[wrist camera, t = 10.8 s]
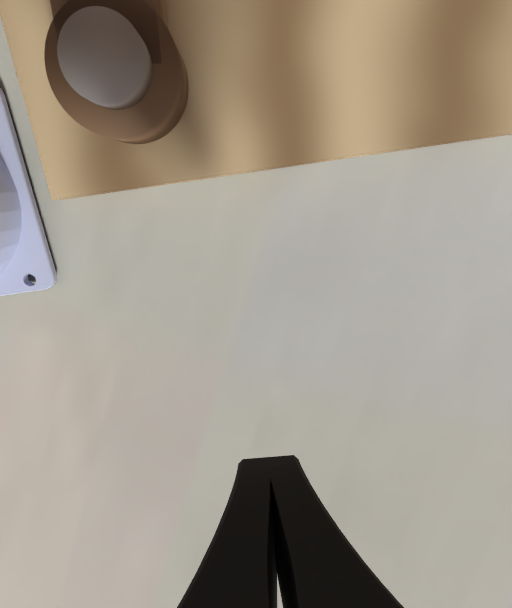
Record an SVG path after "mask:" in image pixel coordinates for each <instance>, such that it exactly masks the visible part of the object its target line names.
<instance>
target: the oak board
mask: <svg viewBox="0 0 512 608" xmlns="http://www.w3.org/2000/svg"><path fill="white" fill-rule="evenodd" d="M165 2H166V11H167V20H168V29H169V32H170V34H171V36H172V38H173V40H174V42H175V44H176V46H177V48H178V50H179V53H180V55H181V57H182V59H183V62H184V64H185V67H186V71H187V76H188V87H189V90H188V99H187V104H186V107H185V110H184V113H183V115H182V117H181V119H180V120H179V122H178V123H177V125H176V126H175V127H174V128H173V129H172V130H171V131H170V132H169V133H168V134H167V135H165V136H164V137H162V138H160V139H158V140H156V141H154V142H150V143H146V144H128V143H124V142H120V141H117V140H114V139H111V138H108V137H105V136H102V135H99V134H97V133H94V132H92V131H90V130H88V129H86V128H85V127H83V126H81V125H80V124H79V123H77V122H76V121H75V120H74V119H73V118H71V117H70V116H69V115H68V114H67V112H66V111H65V110H64V109H63V108H62V106H61V105H60V103H59V102H58V100H57V99H56V97H55V95H54V93H53V91H52V89H51V86H50V84H49V81H48V77H47V73H46V68H45V61H44V50H45V41H46V37H47V32H48V30H49V27H50V24H51V22H52V20H53V14H52V9H51V3H50V0H0V16H1V19H2V23H3V26H4V30H5V34H6V37H7V41H8V44H9V48H10V51H11V55H12V59H13V62H14V66H15V69H16V73H17V77H18V80H19V84H20V87H21V91H22V95H23V98H24V102H25V105H26V109H27V112H28V116H29V120H30V123H31V127H32V130H33V134H34V138H35V141H36V145H37V148H38V152H39V156H40V159H41V163H42V166H43V170H44V174H45V177H46V181H47V184H48V188H49V191H50V195H51V199H52V200H61V199H69V198H75V197H82V196H89V195H96V194H103V193H110V192H117V191H124V190H131V189H137V188H144V187H151V186H158V185H165V184H172V183H179V182H186V181H192V180H199V179H206V178H213V177H220V176H227V175H234V174H241V173H248V172H254V171H261V170H268V169H275V168H282V167H289V166H296V165H303V164H310V163H316V162H323V161H330V160H337V159H344V158H351V157H358V156H365V155H372V154H378V153H385V152H392V151H399V150H406V149H413V148H420V147H427V146H434V145H440V144H447V143H454V142H461V141H468V140H475V139H482V138H489V137H496V136H502V135H509V134H512V0H165Z"/></svg>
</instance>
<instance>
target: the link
mask: <svg viewBox="0 0 512 608" xmlns="http://www.w3.org/2000/svg"><path fill="white" fill-rule="evenodd" d="M50 3H51V9H52V14H53V20H52V22H51V24H50V27H49V30H48V32H47V37H46V41H45V50H44V61H45V68H46V73H47V77H48V81H49V84H50V86H51V89H52V91H53V93H54V95H55V97H56V99H57V100H58V102H59V103H60V105H61V106H62V108H63V109H64V110H65V111H66V112H67V114H68V115H69V116H70V117H71V118H73V119H74V120H75V121H76V122H77V123H79V124H80V125H81V126H83V127H85V128H86V129H88V130H90V131H92V132H94V133H97V134H99V135H102V136H105V137H108V138H111V139H114V140H117V141H120V142H124V143H128V144H146V143H150V142H154V141H156V140H158V139H160V138H162V137H164V136H165V135H167V134H168V133H169V132H170V131H171V130H172V129H173V128H174V127H175V126H176V125H177V123H178V122H179V120H180V119H181V117H182V115H183V113H184V110H185V107H186V104H187V99H188V90H189V87H188V76H187V71H186V67H185V64H184V62H183V59H182V57H181V55H180V53H179V50H178V48H177V46H176V44H175V42H174V40H173V38H172V36H171V34H170V32H169V29H168V20H167V11H166V2H165V0H50Z"/></svg>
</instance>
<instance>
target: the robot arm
mask: <svg viewBox="0 0 512 608" xmlns="http://www.w3.org/2000/svg"><path fill="white" fill-rule="evenodd" d="M29 274H32V275H33V276H34V277H35V278H36V283H35V284H33V283H31V282H30V281H29V279H28V275H29ZM56 281H57V274H56V270H55V267H54V263H53V260H52V257H51V253H50V250H49V246H48V243H47V239H46V236H45V232H44V229H43V226H42V222H41V219H40V215H39V212H38V208H37V205H36V201H35V198H34V195H33V191H32V188H31V184H30V181H29V177H28V174H27V171H26V167H25V164H24V160H23V157H22V153H21V150H20V146H19V143H18V140H17V136H16V133H15V129H14V126H13V122H12V119H11V115H10V112H9V109H8V105H7V102H6V98H5V95H4V93H3V91H2V89H1V88H0V296H3V295H10V294H17V293H24V292H31V291H38V290H45V289H48V288H50V287H52V286H53V285H54V284H55V283H56ZM277 575H278V580H279V586H280V592H281V598H282V603H283V608H404V607H403V606H402V605H401V604H400V603H399V602H398V601H397V600H396V598H395V597H394V596H393V595H392V594H391V593H390V592H389V591H388V589H387V588H386V587H385V586H384V585H383V584H382V583H381V581H380V580H379V579H378V578H377V577H376V575H375V574H374V573H373V572H372V571H371V569H370V568H369V567H368V566H367V565H366V563H365V562H364V561H363V560H362V558H361V557H360V556H359V554H358V553H357V552H356V550H355V549H354V548H353V547H352V545H351V544H350V543H349V541H348V540H347V539H346V537H345V536H344V535H343V533H342V532H341V530H340V529H339V528H338V526H337V525H336V523H335V522H334V520H333V519H332V517H331V516H330V514H329V513H328V511H327V510H326V508H325V507H324V505H323V504H322V502H321V501H320V499H319V498H318V496H317V494H316V493H315V491H314V489H313V487H312V486H311V484H310V482H309V480H308V479H307V477H306V475H305V473H304V471H303V469H302V467H301V465H300V462H299V460H298V459H297V458H296V457H295V456H294V455H291V456H278V457H266V458H253V459H243V460H242V461H241V462H240V463H239V464H238V470H237V474H236V478H235V482H234V485H233V488H232V492H231V494H230V497H229V500H228V503H227V506H226V508H225V511H224V513H223V516H222V518H221V520H220V523H219V525H218V528H217V530H216V533H215V535H214V537H213V539H212V541H211V543H210V546H209V548H208V550H207V552H206V554H205V556H204V558H203V560H202V562H201V564H200V566H199V568H198V570H197V572H196V574H195V576H194V578H193V580H192V582H191V584H190V586H189V587H188V589H187V591H186V593H185V595H184V596H183V598H182V600H181V602H180V603H179V605H178V607H177V608H277Z"/></svg>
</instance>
